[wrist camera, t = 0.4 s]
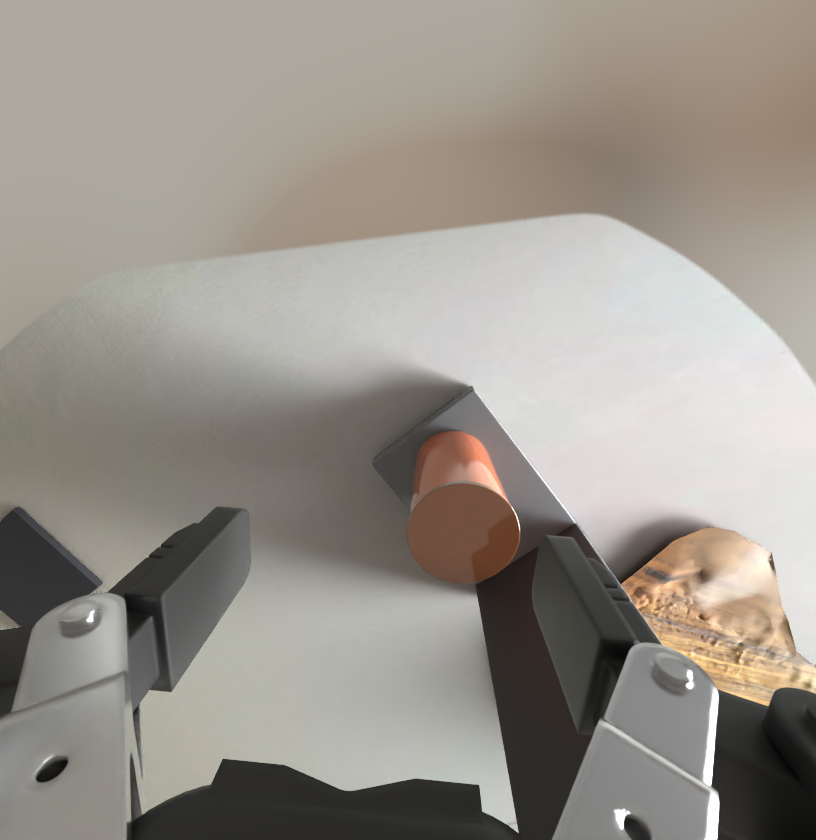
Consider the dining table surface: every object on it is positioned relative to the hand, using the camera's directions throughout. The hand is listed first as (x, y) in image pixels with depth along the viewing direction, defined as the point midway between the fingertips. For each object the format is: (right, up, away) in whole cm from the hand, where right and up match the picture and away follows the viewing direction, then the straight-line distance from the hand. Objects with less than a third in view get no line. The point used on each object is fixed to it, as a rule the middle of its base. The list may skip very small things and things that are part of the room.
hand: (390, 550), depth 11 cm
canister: (+4, 0, +21) cm, 21 cm away
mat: (-35, -11, +27) cm, 46 cm away
